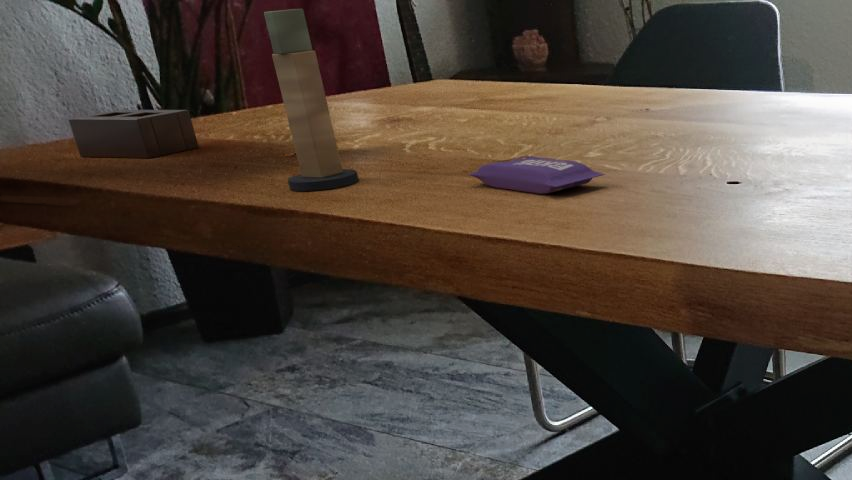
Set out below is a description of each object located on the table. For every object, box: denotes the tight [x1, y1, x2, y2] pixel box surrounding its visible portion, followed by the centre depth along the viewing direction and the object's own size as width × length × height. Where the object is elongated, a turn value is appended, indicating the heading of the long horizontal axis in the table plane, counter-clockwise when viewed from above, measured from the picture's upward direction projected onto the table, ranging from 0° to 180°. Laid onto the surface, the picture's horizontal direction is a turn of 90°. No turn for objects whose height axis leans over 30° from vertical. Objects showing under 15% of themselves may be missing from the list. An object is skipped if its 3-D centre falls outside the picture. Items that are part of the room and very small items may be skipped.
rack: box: [67, 109, 200, 159], centre depth 118 cm, size 6×11×4 cm, turn 67°
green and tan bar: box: [263, 8, 343, 178], centre depth 91 cm, size 3×2×13 cm
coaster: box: [287, 168, 359, 192], centre depth 94 cm, size 6×6×1 cm
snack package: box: [467, 155, 606, 195], centre depth 87 cm, size 12×2×5 cm
